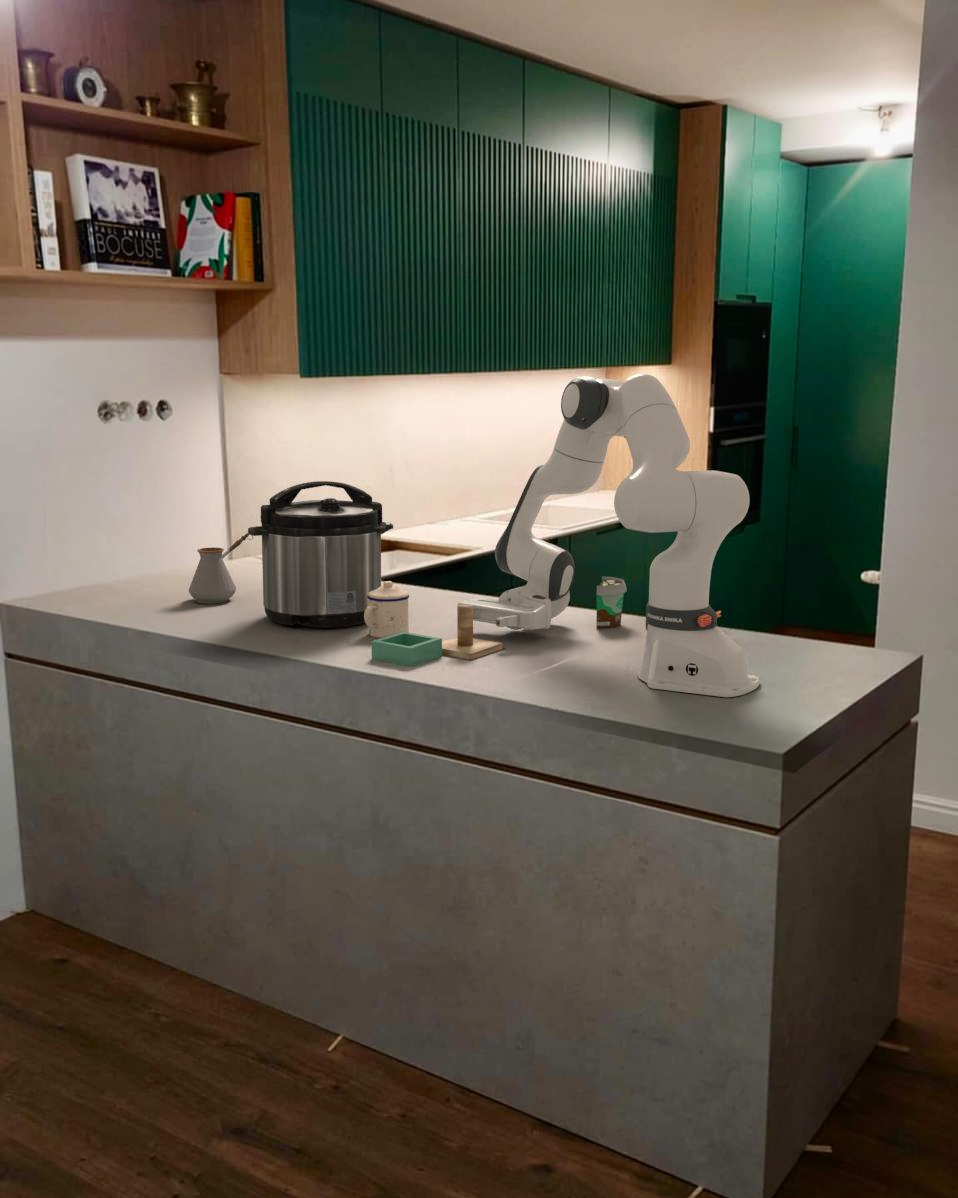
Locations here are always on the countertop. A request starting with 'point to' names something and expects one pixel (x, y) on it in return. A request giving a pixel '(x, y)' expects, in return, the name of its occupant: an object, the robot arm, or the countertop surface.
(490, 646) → the lid
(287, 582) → the pressure cooker
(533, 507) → the robot arm
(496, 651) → the mat
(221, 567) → the coffee pot
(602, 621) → the food container
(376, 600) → the teacup with lid
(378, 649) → the dish
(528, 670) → the countertop surface
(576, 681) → the countertop surface
